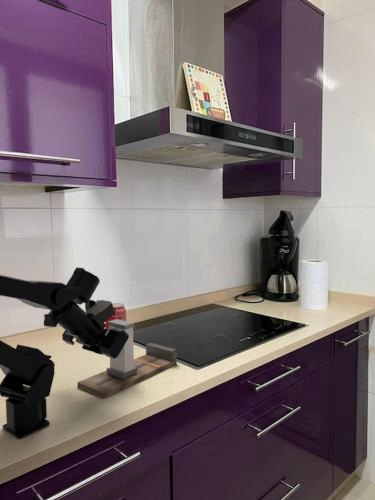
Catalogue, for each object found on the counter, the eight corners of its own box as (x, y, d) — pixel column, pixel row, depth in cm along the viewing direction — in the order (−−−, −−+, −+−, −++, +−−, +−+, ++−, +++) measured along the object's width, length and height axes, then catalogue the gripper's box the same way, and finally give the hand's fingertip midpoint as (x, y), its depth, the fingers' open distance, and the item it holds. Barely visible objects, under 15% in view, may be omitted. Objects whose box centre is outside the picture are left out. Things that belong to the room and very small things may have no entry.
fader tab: (123, 379, 92) (122, 326, 91) (106, 372, 96) (104, 322, 95) (137, 372, 96) (136, 322, 95) (120, 366, 100) (119, 318, 99)
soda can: (107, 336, 132) (106, 303, 131) (127, 336, 132) (126, 302, 131) (104, 343, 125) (103, 307, 124) (125, 342, 125) (124, 307, 124)
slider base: (104, 398, 85) (103, 380, 85) (77, 387, 91) (77, 370, 91) (176, 363, 106) (176, 349, 105) (150, 356, 112) (150, 342, 111)
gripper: (121, 295, 82) (156, 333, 92) (71, 287, 94) (106, 321, 103) (93, 339, 77) (133, 374, 86) (43, 325, 88) (83, 357, 98)
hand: (113, 354), depth 94 cm, fingers closed
